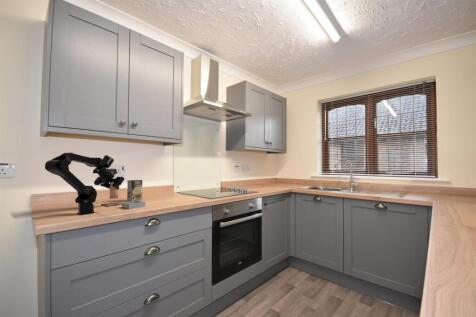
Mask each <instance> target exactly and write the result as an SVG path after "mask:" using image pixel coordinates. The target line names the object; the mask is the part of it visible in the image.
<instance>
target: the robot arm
mask: <svg viewBox="0 0 476 317" xmlns="http://www.w3.org/2000/svg"><path fill="white" fill-rule="evenodd" d="M72 162H75V163H80V164H84V165H85V166H86V167H90V168H93V171H92V174H97V175H98V176H97V177H96V179H95V180H94V181H93V185H94V186H100V187H103V188H106V189H108V190H110V183H112V182H113V183H114V184H113V187H115V188H116V189H118V191H119V189H120V186H122V184H123V182H124V181H125V177H124V176H116V174H118V170H117V168H110V167H111V166H112V164H113V163H114V162H115V160H114V158H112V157H111V156H110V155H108V154H106V155H103V158H102V157H89V156H85V155H82V154H77V153H74V152H63V153H61V154H60V155H58V156H56V157H53V158H52V159H49V160H47V161H45V163H44V169H45V170H46V171H47V172H49V173H51V174H52V175H55V176H58V177H60V178H61V179H62V180H63V181H65V182H66V183H67V184H68V185H69V186H71V187H72V188H73V189H74V190H75V191H76V192H77V196H76V198H75V200H74V203H75V204H78V206H77V207H78V210H77V212H76V213H77V215H80V216H81V215H83V216H84V215H89V214H94V212H95V210H94V207H95V206H94V203H95V202H96V199H97V197H98V192H97V189H96V188H95V187H94V186H93V185H86V184H85V183H84V182H82V181H81V179H79V178H78V177H77V176H76V175H75V174H74V173H73V172H71V171H70V166H71V163H72ZM115 176H116V177H115Z"/></svg>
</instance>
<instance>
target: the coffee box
mask: <svg viewBox="0 0 476 317" xmlns="http://www.w3.org/2000/svg"><path fill="white" fill-rule="evenodd" d="M130 201H143V179H129V180H127V190H126V202H130Z"/></svg>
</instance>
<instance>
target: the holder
mask: <svg viewBox="0 0 476 317" xmlns="http://www.w3.org/2000/svg"><path fill="white" fill-rule="evenodd" d="M121 202H122V201H121ZM145 207H146V201H143V200H140V201H125V202H122V205H121V208H123V209H127V210H132V209H139V208H145Z"/></svg>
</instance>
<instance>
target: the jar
mask: <svg viewBox="0 0 476 317" xmlns="http://www.w3.org/2000/svg"><path fill="white" fill-rule="evenodd" d="M109 184H110V189H109V199H111V200H114V199H115V200H116V199H119V190H118V189H116V188H115V187H113V184H114V183H113V182H112V183H109Z"/></svg>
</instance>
